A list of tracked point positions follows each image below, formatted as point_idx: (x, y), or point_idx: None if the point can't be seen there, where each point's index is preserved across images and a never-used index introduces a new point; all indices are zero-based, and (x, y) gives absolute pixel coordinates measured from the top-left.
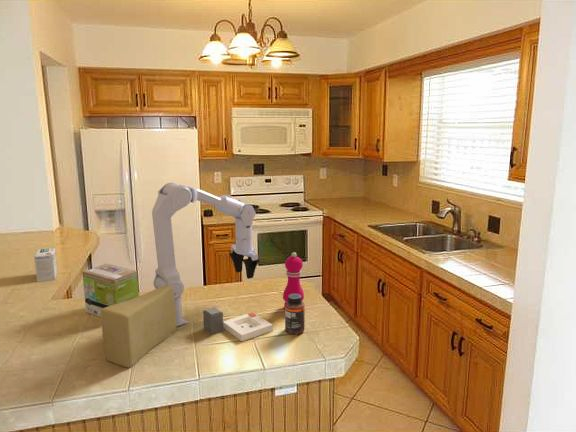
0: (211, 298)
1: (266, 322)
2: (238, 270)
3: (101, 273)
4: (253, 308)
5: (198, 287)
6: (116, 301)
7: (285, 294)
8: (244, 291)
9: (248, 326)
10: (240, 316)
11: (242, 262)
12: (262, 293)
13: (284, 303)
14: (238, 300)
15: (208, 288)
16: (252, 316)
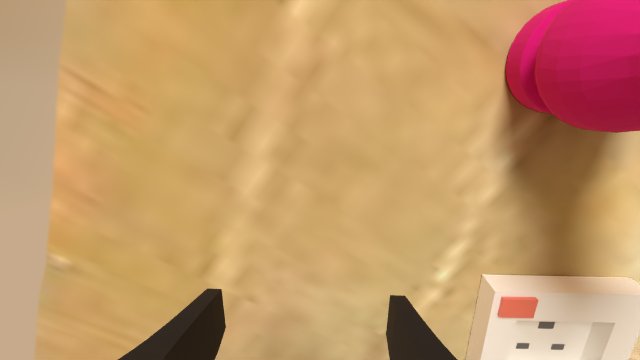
0: None
1: (618, 301)
2: (219, 326)
3: None
4: (406, 221)
5: (52, 282)
6: None
7: (624, 130)
8: (198, 142)
9: (538, 330)
10: (486, 342)
11: (177, 345)
12: (276, 76)
13: (533, 102)
14: (286, 225)
15: (81, 256)
16: (532, 316)
